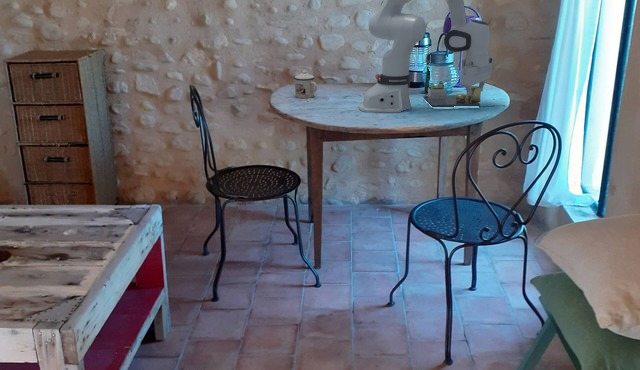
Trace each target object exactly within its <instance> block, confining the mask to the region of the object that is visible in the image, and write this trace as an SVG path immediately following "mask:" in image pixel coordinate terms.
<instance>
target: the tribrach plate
mask: <svg viewBox="0 0 640 370" xmlns="http://www.w3.org/2000/svg"><path fill="white" fill-rule="evenodd" d="M447 90H448V89H447V88H446V87H445V88H444V85H443V84H431V87H428V93H427V95H423V98H424V99H425V100H426V101H427V102H428V103H429V104H430V105H431V106H432V107H454V106H480V107H481V104H480V102H479V103H471V102H468V101H465V100H464V101H460V100H456V95H457V94H450V95H449V94H447ZM467 97H468V96H467Z"/></svg>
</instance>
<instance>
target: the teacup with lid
mask: <svg viewBox="0 0 640 370" xmlns="http://www.w3.org/2000/svg"><path fill="white" fill-rule="evenodd" d="M301 71H302V72H300V73H299V74H297V75H295V76H294V89H295V90H294V93H295V97H296V98H298V99H311V98H313V97H315V93H316V92H317V90H318V85H317V83H316V82H315V76H314V75H312V74H310V73H308V71H307V70H301Z"/></svg>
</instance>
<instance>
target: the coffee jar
mask: <svg viewBox="0 0 640 370" xmlns="http://www.w3.org/2000/svg"><path fill="white" fill-rule="evenodd" d="M431 53H432V52H429V53H428V54H427V55H426V62H425V63H426V73H425V82H424V92H425V91H428V87H429V80H430V71H429V69H428V67H427V65H428V64H429V63H430V55H431Z"/></svg>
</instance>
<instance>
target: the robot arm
mask: <svg viewBox="0 0 640 370" xmlns="http://www.w3.org/2000/svg"><path fill="white" fill-rule="evenodd" d="M382 1H383V2H382V3H381V6H380V7H379V9H378V10H377V11H376V12H375V13H374V14H372V15H371V17H370V19H369V21H368V31H369V33H370V34H371V36H373V37H375V38H378V39H380V40H386V41H388V40H389V41H393V44H392V47H391V49H389V50H387V51H385V53H384V54H383V55H382V63H381V64H382V66H381V67H382V71H381V73H380V74H379V73H375V74H374V78H375V79H376V80H377V82H376V84H373V86H371V87H370V88H369V89H367V90H366V91H365V93H364V95H363V100H362V102H359V103H358V105H357V108H358V109H359V110H360V111H362V112H367V113H401V111H402V112H403V110H404V111H407V110H406V109H408V110H410V109H412V105H411V104H412V103H411V99H410V86H411V84H410V83H411V81H410V80H411V77H410V59H411V54H412V52H413V49H414V47H415V46H416V44H417V43H418V42H420V41H421V40H422V39H423V38H424V36H425V35H426V31H427V23H426V21H425V19H424V18H423V17H422V16H419V15H417V14H414V13H413V14H412V13H402V10H403V8H404V6H405V5H406V4H408V3H410V2H411V1H412V0H382ZM464 1H465V0H445V2H446V4H447V5H448V10H449V17H450V21H451V22H450V23H451V24H450V25H451V27H450V30H449V31H448V32H446V33H445V35H444V38H443V45H444V47H445V48H446V49H447V50H448V51H449V52H452V53H459V52H465V51H466V57H465V58H466V59H465V65H464V67H462V69H461V73H460V82H459V84H460V86H461V87H465V91H466V93H465V94H466V95H467V96H471V95H472V91H471V87H472V86H475V85H477V84H479V85H478V87H481V93H482V92H483V91H484V90H483V89H484V86H485V84H486V81H489V80H490V79H491V76H492V68H493V65H492V64H493V63H494V58H493V57H492V56H489V45H490V38H491V37H490V36H491V34H490V30H491V29H490V25H489V24H488V23H487V22H486V21H484V20H479V19H471V20H470V21H469V22H468V19H467V15H466V9H465V3H464ZM409 108H410V109H409Z"/></svg>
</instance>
